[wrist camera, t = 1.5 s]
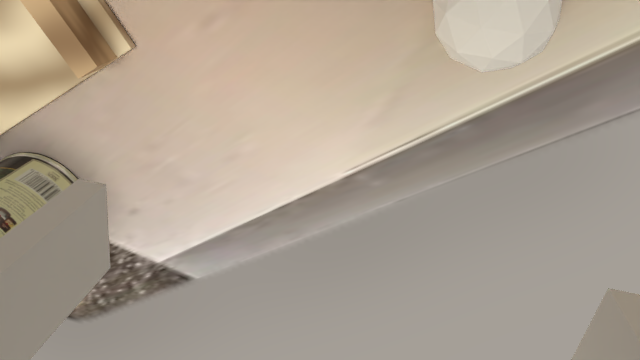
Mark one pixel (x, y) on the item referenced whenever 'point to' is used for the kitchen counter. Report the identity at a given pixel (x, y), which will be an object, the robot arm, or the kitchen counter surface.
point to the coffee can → (28, 186)
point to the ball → (495, 30)
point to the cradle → (52, 51)
